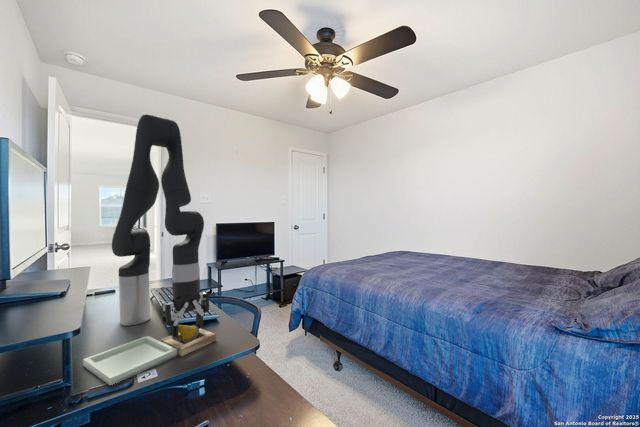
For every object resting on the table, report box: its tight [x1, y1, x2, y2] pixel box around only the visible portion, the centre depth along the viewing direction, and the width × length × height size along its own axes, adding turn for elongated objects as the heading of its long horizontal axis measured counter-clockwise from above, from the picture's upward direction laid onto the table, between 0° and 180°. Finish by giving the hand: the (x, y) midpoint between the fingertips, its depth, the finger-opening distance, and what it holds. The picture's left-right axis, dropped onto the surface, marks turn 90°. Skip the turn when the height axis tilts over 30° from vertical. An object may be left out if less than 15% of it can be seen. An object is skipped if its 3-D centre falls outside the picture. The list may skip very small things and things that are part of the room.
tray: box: [82, 335, 178, 386], centre depth 77 cm, size 16×16×2 cm
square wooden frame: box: [159, 328, 217, 357], centre depth 87 cm, size 11×11×2 cm
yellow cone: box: [177, 324, 201, 344], centre depth 87 cm, size 5×5×10 cm
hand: (187, 332), depth 86 cm, fingers closed on yellow cone, 7 cm apart
